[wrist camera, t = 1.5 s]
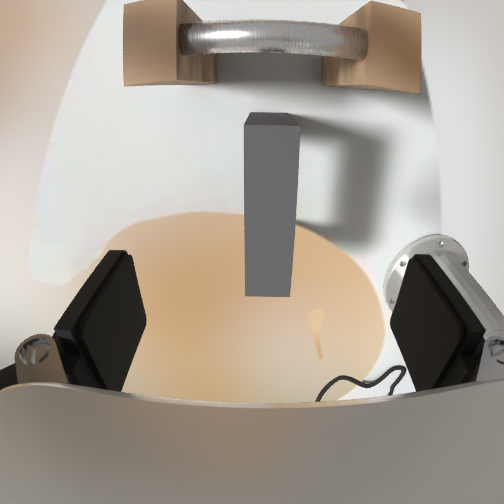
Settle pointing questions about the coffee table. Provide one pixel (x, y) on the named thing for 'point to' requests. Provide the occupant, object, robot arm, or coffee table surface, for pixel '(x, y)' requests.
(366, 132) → the coffee table surface
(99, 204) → the coffee table surface
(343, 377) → the cable
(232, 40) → the hook stand
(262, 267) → the grey channel bracket
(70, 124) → the coffee table surface
